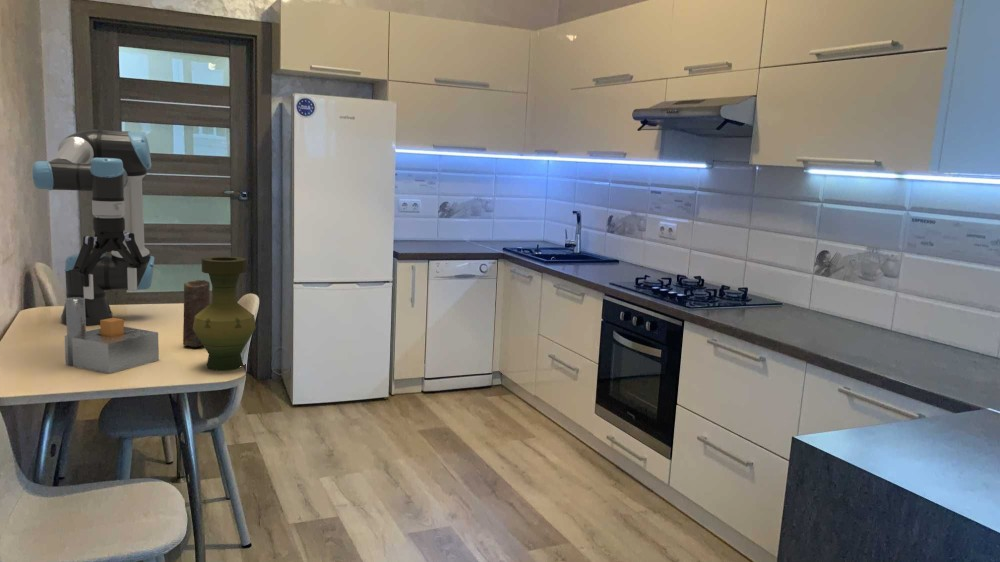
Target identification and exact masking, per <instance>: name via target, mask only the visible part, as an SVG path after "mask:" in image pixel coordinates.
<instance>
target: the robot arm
mask: <svg viewBox="0 0 1000 562" xmlns="http://www.w3.org/2000/svg"><path fill="white" fill-rule="evenodd" d="M151 159H152V157H151V150H150V145H149V142H148V138H147V136H146V135H145V134H143V133H140V132H135V131H122V130H106V129H105V130H102V129H101V130H100V129H88V130H87V129H86V130H81V131H78V132H75V133H72V134H69V135H67V137H65V138H63V139H62V140H61V142H60V143H59V144H58V148H57V152H56V154H55V155H54V156H53V157H52V159H51V160H50V161H48V160H44V161H43V160H39V161H38V160H37V161H35V162H34V163H33V165H32V182H33V185H34V187H36V188H37V189H39V190H47V191H81V192H83V191H84V192H91V206H92V207H91V210H92V215H93V216H94V217H93V218H92V231H94V236H89V235H84V236H83V238H82V246H81V248H80V251H79V253H77V254H71V255H70V256H67V258H66V259H65V262H64V263H65V268H64V273H65V290H66V291H65V292H66V296H65V297H66V299H67V298H73V297H82V298H85V318H86V326H95V325H100V320H104V319H109V318H114V316H113V312H112V310H111V307H110V305H109V302H108V299H107V291H129V292H136V293H137V292H138V291H143V290H145V291H146V290H148V289H150V288H151V287H152V282H153V274H154V266H155V256H153V255H150V254H151V252H150V250H149V249H148V248H147V247H145V228H144V227H145V226H144V201H143V200H144V199H143V198H144V197H143V178H144V177H145V176H147V173H148V172H147V171H148V170H150V169H151V168H152V160H151ZM106 253H111V256H109V255H106ZM60 322H61V323H62V324H64V325H67V321H66V302H65V304H64V307H63V310H62V313H61V316H60Z"/></svg>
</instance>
